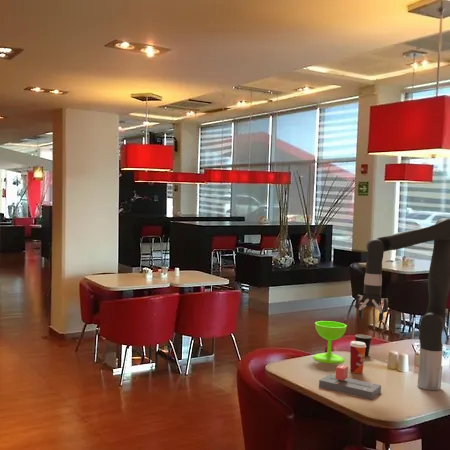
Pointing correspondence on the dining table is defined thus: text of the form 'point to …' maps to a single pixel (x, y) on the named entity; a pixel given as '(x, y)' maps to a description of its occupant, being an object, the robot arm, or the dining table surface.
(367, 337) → the coffee mug
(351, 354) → the paper cup
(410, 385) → the dining table surface
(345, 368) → the fader
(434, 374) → the robot arm
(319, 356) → the wineglass
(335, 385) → the console
